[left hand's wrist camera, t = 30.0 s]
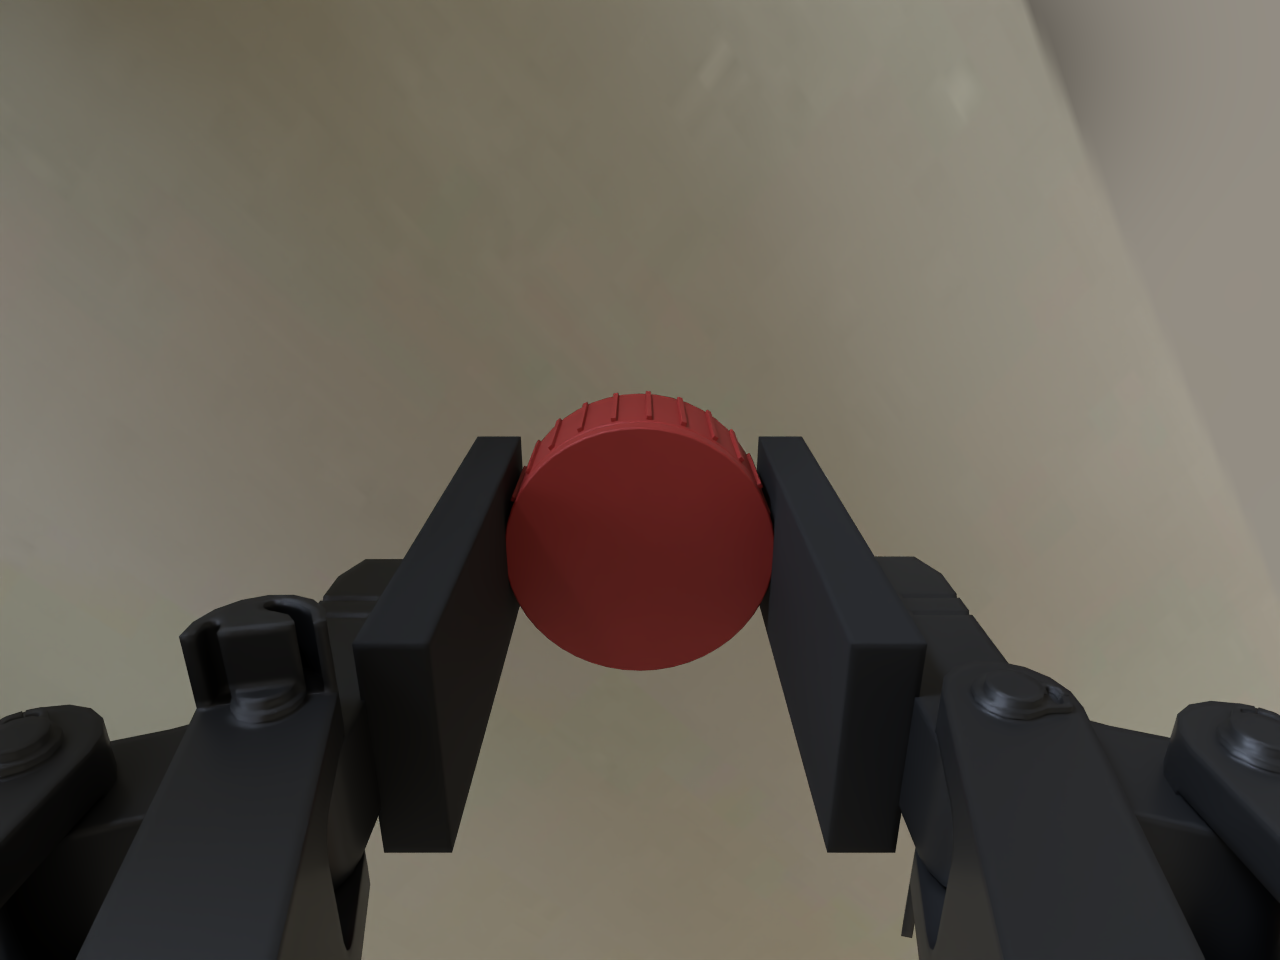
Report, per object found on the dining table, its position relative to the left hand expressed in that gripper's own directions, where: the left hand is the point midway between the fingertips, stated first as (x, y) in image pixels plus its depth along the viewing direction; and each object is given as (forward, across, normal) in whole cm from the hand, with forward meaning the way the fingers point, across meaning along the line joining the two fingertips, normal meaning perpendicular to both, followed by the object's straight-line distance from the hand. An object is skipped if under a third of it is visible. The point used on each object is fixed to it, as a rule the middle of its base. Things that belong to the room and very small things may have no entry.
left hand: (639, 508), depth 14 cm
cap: (-2, 0, 0) cm, 2 cm away
